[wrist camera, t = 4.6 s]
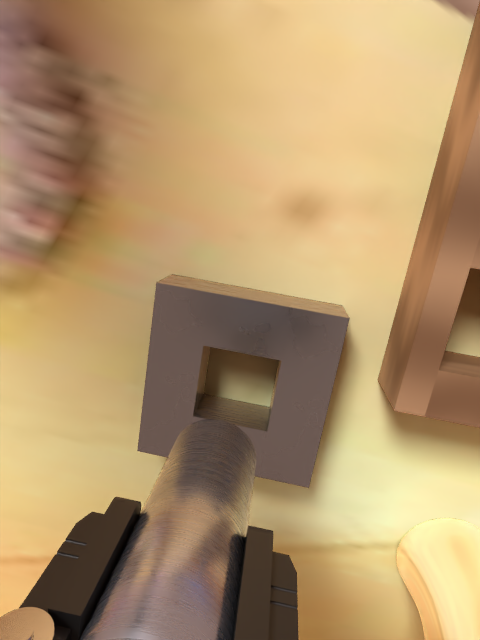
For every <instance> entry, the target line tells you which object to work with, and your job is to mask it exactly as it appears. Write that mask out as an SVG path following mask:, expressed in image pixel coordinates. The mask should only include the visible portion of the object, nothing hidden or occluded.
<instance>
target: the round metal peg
mask: <svg viewBox="0 0 480 640" xmlns="http://www.w3.org/2000/svg"><path fill="white" fill-rule="evenodd" d="M255 468H256V452H255V448H254V445H253V443H252V441H251V440H250V438H249V437H248V436H247V435H246V433H245V432H243V431H242V430H241V429H240V428H239V427H237V426H235V425H234V424H232V423H229V422H227V421H223V420H219V419H204V420H200V421H197V422H194V423H192V424H190V425H189V426H187V427H186V428H185V429H184V430H183V431H182V432H181V433H180V434H179V436H178V437H177V439H176V441H175V443H174V445H173V447H172V450H171V452H170V454H169V456H168V458H167V460H166V462H165V464H164V466H163V468H162V470H161V472H160V474H159V476H158V478H157V481H156V483H155V485H154V487H153V489H152V491H151V493H150V495H149V497H148V499H147V501H146V503H145V505H144V507H143V510H142V512H141V514H140V516H139V518H138V520H137V522H136V524H135V526H134V528H133V530H132V532H131V534H130V536H129V539H128V541H127V543H126V545H125V547H124V549H123V551H122V553H121V555H120V557H119V559H118V561H117V563H116V565H115V568H114V570H113V572H112V574H111V576H110V578H109V580H108V582H107V584H106V586H105V588H104V590H103V592H102V594H101V597H100V599H99V601H98V603H97V605H96V607H95V609H94V611H93V613H92V615H91V617H90V619H89V621H88V623H87V626H86V628H85V630H84V632H83V634H82V636H81V638H80V640H232V639H233V631H234V624H235V616H236V608H237V600H238V593H239V585H240V577H241V569H242V562H243V554H244V546H245V538H246V533H247V528H248V524H249V516H250V508H251V500H252V492H253V484H254V476H255Z"/></svg>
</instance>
